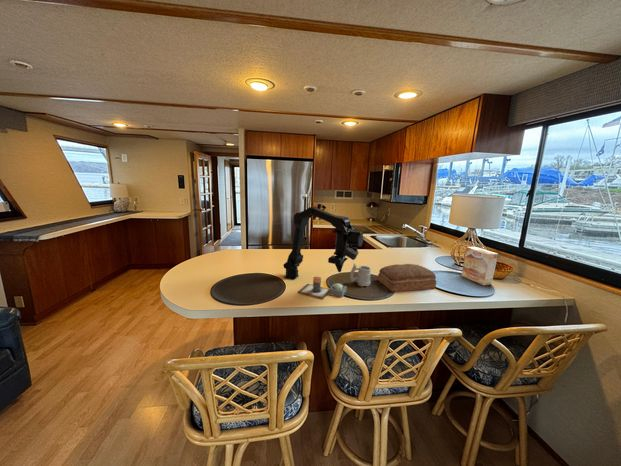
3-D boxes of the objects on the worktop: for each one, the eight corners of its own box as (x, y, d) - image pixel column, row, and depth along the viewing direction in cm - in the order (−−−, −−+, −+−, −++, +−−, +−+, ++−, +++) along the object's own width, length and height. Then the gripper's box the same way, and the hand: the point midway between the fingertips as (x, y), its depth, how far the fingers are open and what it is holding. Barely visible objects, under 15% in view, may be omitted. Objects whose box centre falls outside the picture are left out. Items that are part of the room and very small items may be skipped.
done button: (332, 292, 125) (332, 285, 124) (335, 289, 129) (335, 282, 128) (340, 295, 123) (341, 287, 122) (343, 291, 127) (343, 284, 126)
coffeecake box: (460, 275, 156) (466, 246, 152) (469, 274, 158) (474, 246, 154) (483, 285, 142) (490, 253, 138) (492, 284, 145) (498, 253, 140)
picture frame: (297, 292, 124) (297, 291, 124) (307, 284, 134) (307, 283, 134) (322, 299, 118) (322, 297, 118) (331, 290, 128) (331, 289, 128)
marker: (311, 291, 125) (311, 278, 123) (314, 288, 128) (315, 276, 127) (318, 293, 123) (319, 280, 121) (321, 290, 126) (322, 277, 125)
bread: (375, 280, 145) (377, 261, 142) (418, 277, 152) (420, 259, 149) (391, 293, 129) (393, 272, 126) (438, 289, 136) (441, 270, 133)
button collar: (329, 293, 124) (329, 288, 124) (333, 288, 130) (334, 283, 130) (342, 297, 121) (342, 291, 121) (346, 291, 127) (346, 286, 127)
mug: (371, 287, 134) (373, 267, 131) (349, 286, 134) (351, 265, 132) (368, 281, 141) (370, 262, 139) (348, 280, 142) (350, 261, 139)
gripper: (351, 249, 108) (349, 281, 112) (362, 240, 125) (359, 269, 128) (328, 245, 113) (326, 277, 116) (341, 237, 129) (339, 265, 133)
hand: (339, 272), depth 123 cm, fingers closed
